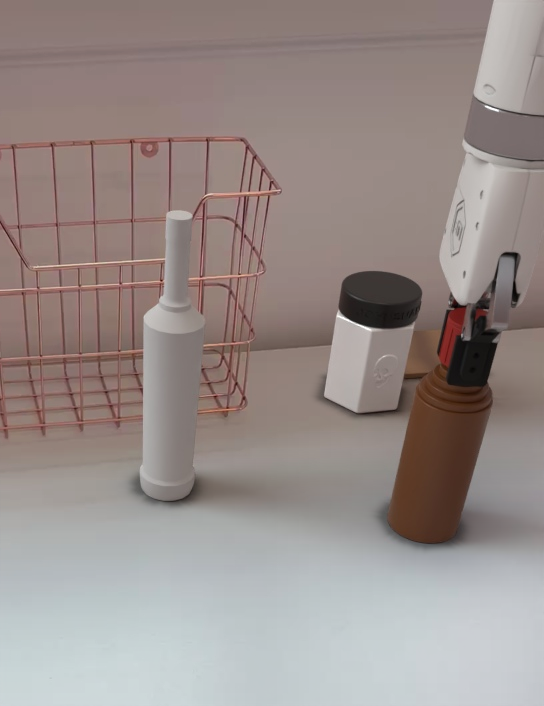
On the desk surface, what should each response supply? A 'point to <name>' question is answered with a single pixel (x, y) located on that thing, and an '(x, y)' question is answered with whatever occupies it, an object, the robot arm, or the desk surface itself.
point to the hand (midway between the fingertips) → (460, 368)
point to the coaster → (422, 353)
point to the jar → (372, 340)
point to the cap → (453, 332)
